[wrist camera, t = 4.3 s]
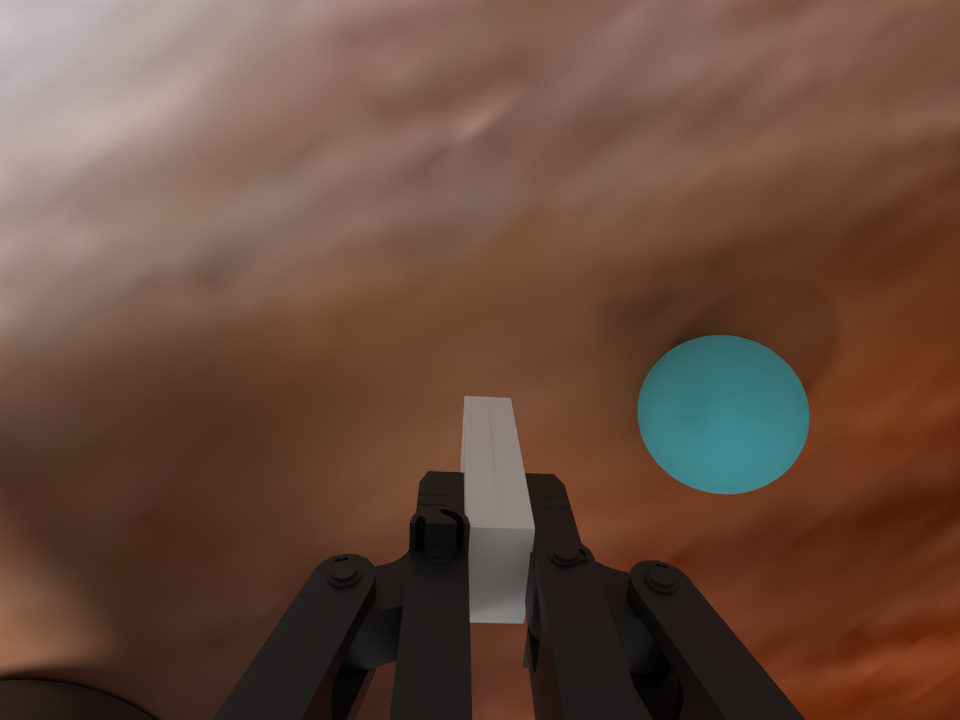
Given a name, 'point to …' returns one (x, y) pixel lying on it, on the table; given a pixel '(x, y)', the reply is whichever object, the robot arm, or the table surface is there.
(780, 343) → the table surface
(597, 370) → the table surface
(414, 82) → the table surface
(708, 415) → the ball
